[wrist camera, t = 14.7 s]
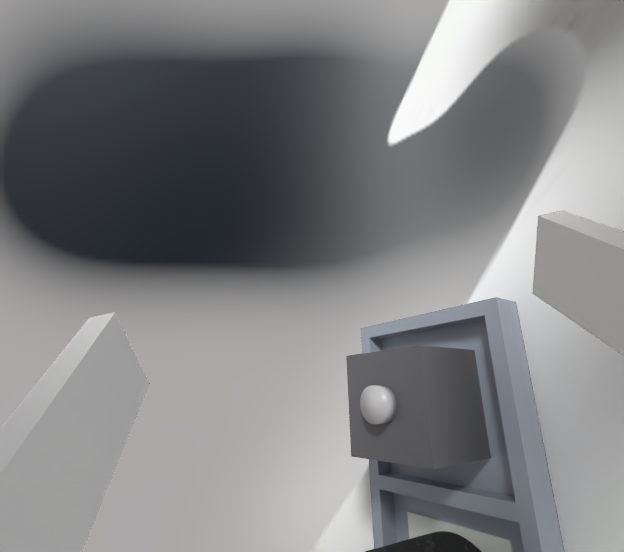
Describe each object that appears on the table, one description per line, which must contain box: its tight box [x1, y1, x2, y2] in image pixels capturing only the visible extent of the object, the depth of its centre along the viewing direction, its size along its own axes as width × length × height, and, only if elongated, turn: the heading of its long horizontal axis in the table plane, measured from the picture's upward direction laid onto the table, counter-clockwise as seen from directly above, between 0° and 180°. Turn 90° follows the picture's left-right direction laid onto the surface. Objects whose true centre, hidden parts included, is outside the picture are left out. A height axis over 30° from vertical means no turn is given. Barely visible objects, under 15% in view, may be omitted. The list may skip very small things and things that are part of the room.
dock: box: [361, 298, 564, 552], centre depth 26 cm, size 25×13×2 cm, turn 2°
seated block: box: [347, 345, 491, 469], centre depth 26 cm, size 7×7×7 cm
